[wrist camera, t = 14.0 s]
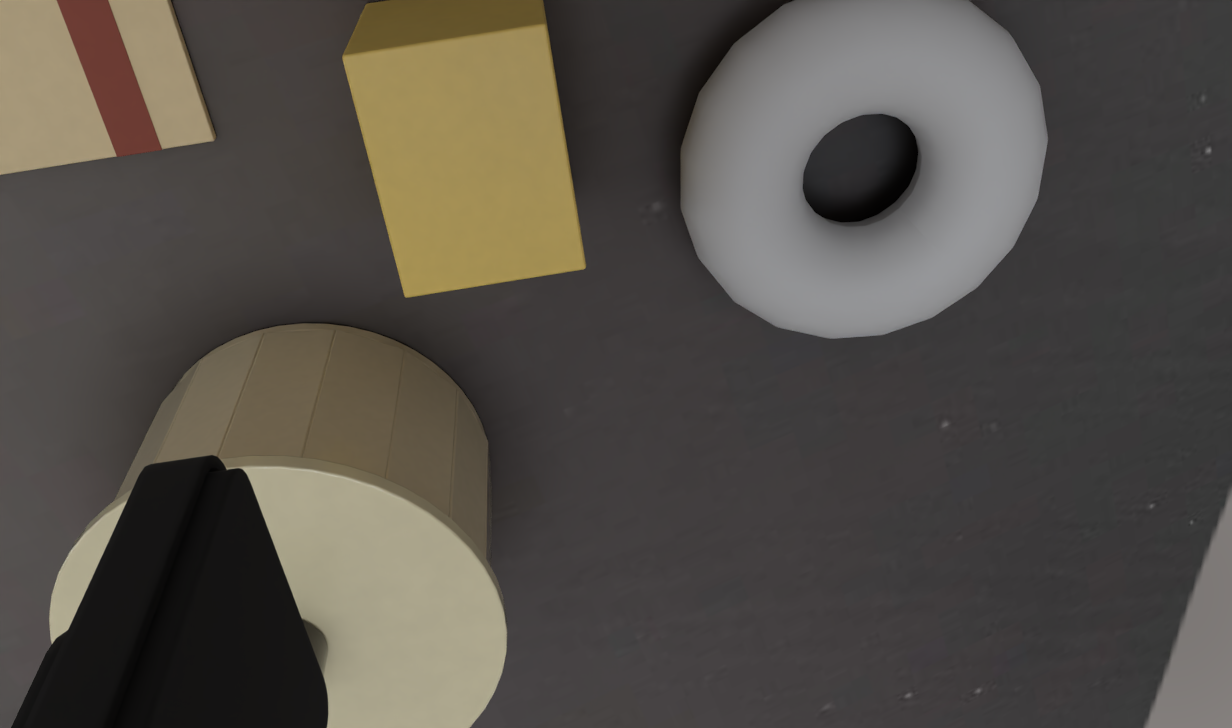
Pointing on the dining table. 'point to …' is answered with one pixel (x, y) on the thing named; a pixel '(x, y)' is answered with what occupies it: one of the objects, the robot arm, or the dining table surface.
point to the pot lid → (361, 592)
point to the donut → (818, 102)
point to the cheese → (465, 141)
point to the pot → (332, 415)
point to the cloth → (94, 82)
